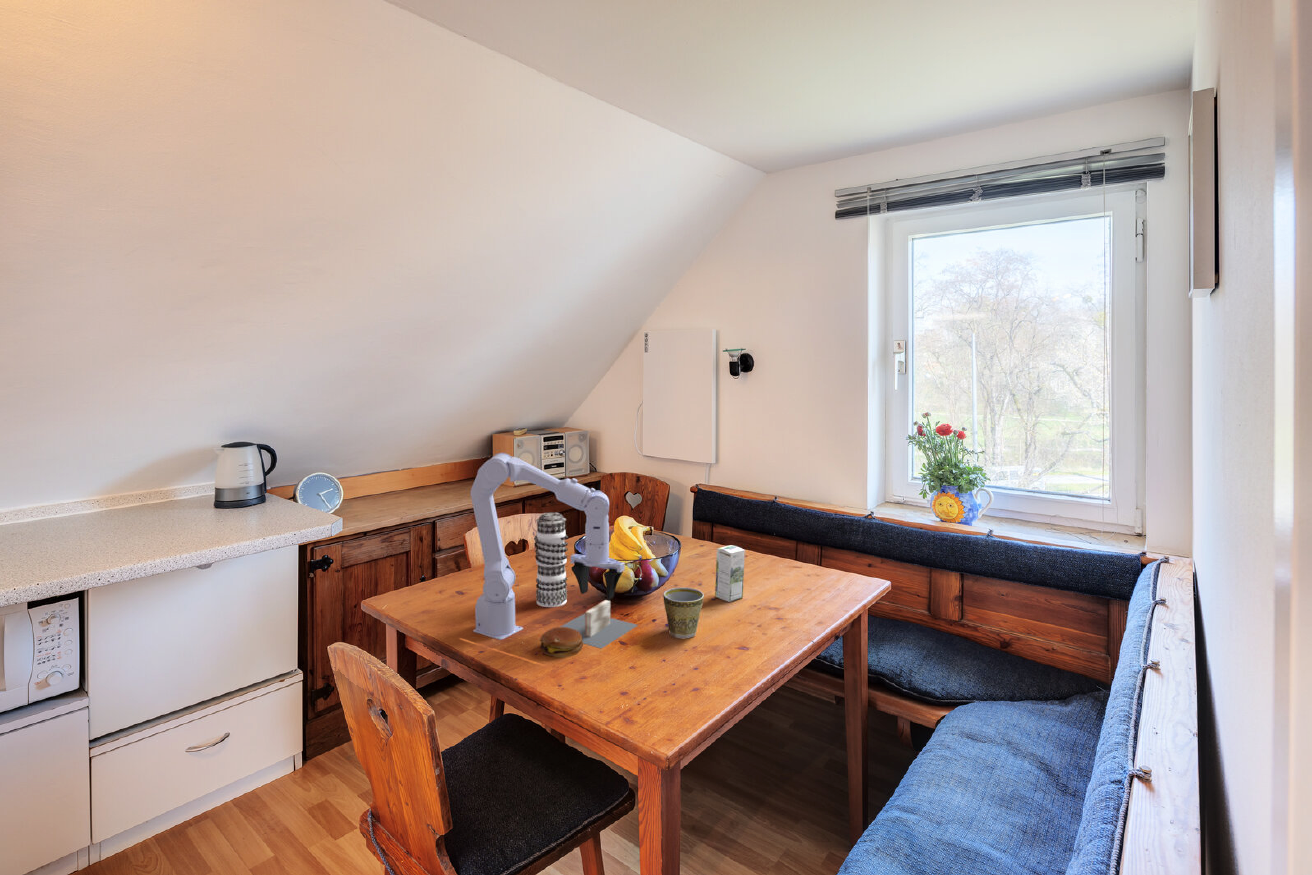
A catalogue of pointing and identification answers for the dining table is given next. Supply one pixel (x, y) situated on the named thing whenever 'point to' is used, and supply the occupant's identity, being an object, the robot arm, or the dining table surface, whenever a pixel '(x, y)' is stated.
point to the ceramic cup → (683, 611)
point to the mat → (604, 635)
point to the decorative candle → (551, 560)
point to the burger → (561, 642)
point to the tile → (597, 618)
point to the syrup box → (729, 573)
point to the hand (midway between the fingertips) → (597, 595)
